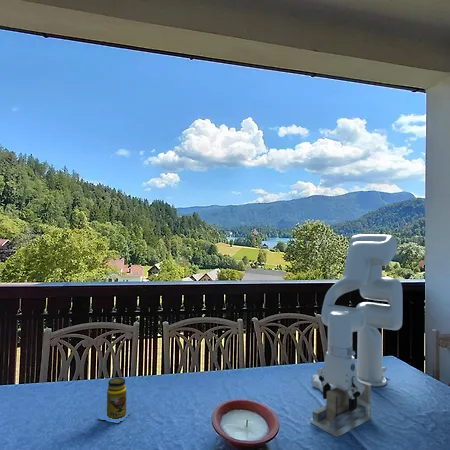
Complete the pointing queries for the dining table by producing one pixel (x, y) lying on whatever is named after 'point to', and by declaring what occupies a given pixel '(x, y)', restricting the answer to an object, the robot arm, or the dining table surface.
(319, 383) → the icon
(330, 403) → the door
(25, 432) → the dining table surface
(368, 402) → the track
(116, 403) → the condiment
